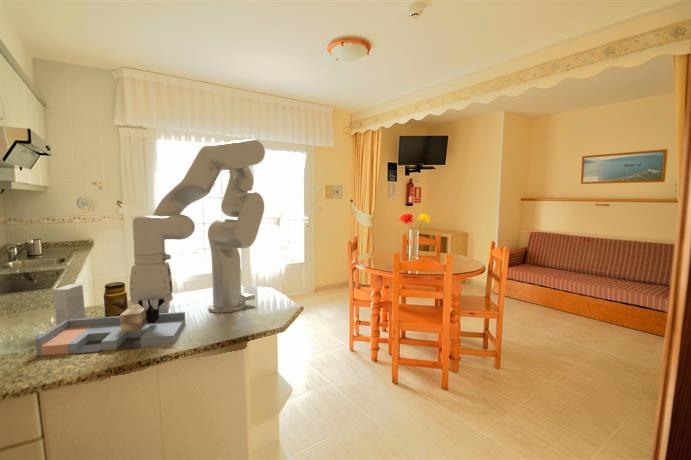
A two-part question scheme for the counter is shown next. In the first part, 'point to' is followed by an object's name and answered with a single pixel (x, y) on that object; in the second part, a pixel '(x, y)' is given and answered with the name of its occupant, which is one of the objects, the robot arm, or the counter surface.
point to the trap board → (108, 335)
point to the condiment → (115, 299)
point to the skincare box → (69, 302)
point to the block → (133, 319)
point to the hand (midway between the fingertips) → (152, 321)
